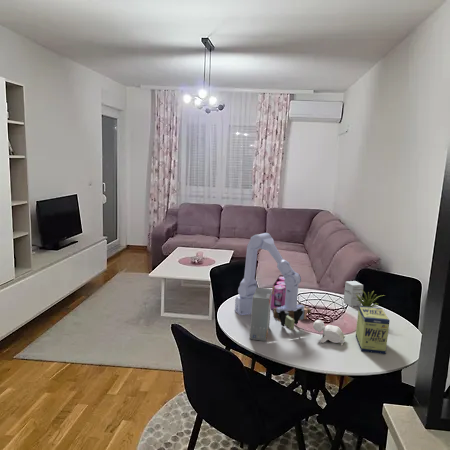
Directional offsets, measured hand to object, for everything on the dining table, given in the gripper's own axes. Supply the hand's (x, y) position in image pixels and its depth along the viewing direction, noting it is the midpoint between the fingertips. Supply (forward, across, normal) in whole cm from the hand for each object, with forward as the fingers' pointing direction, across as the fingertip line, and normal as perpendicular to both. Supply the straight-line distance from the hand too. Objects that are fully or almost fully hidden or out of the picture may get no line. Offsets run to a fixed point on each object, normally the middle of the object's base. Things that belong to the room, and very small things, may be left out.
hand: (289, 324), depth 200 cm
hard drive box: (+2, -17, -2) cm, 17 cm away
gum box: (+2, +12, +29) cm, 32 cm away
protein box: (+2, +26, -27) cm, 38 cm away
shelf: (+1, +7, +9) cm, 11 cm away
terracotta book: (+1, +13, +8) cm, 15 cm away
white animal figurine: (+2, +10, -17) cm, 20 cm away
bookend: (+1, +2, +8) cm, 9 cm away
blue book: (+1, +11, +8) cm, 14 cm away
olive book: (+2, 0, 0) cm, 2 cm away
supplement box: (+2, +53, +18) cm, 56 cm away
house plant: (+2, +45, -4) cm, 45 cm away
